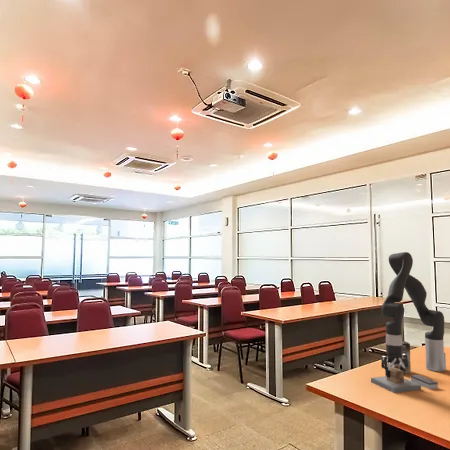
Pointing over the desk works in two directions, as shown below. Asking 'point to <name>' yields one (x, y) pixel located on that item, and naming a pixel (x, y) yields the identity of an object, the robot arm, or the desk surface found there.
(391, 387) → the slate platform
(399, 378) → the walnut cube
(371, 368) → the desk surface
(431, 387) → the felt board eraser
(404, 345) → the coffee box
